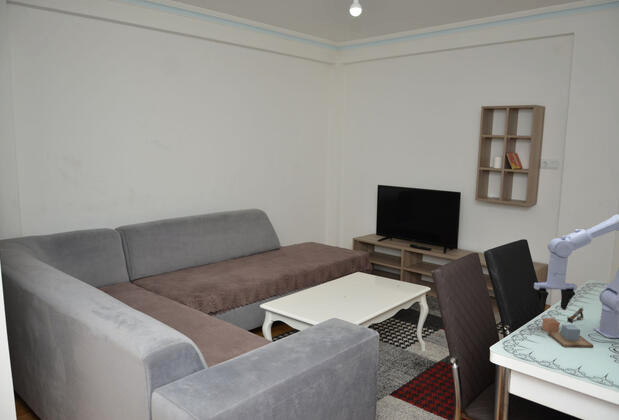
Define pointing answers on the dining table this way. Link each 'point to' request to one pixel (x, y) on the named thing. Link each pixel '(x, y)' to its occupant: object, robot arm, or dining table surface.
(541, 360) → the dining table surface
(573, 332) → the slate cube
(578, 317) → the wooden post with brackets
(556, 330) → the terracotta cube
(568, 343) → the walnut base plate
